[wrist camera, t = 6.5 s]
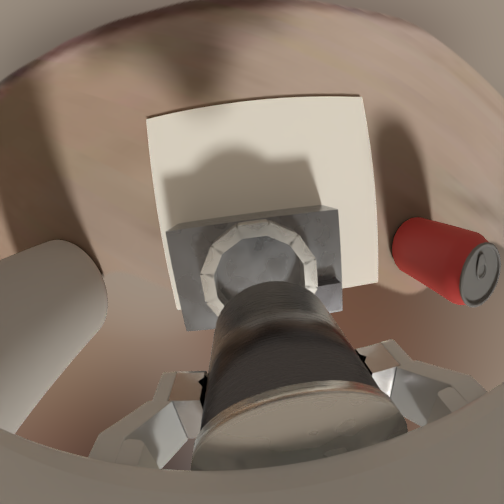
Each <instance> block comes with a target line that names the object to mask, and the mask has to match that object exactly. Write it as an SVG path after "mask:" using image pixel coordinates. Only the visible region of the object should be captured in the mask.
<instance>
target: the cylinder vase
mask: <svg viewBox="0 0 504 504" xmlns="http://www.w3.org/2000/svg"><path fill="white" fill-rule="evenodd" d="M107 308H108V298H107V291H106V287H105V283H104V281H103V278H102V275H101V273H100V271H99V269H98V268H97V266H96V265H95V263H94V262H93V260H92V259H91V258H90V257H89V256H88V255H87V254H86V253H85V252H84V251H83V250H82V249H81V248H79V247H78V246H76V245H75V244H73V243H70V242H68V241H64V240H51V241H48V242H45V243H42V244H40V245H37V246H34V247H32V248H29V249H27V250H24V251H21V252H19V253H16V254H14V255H11V256H9V257H7V258H4V259H2V260H0V428H1V429H3V430H6V431H8V432H10V433H13V434H15V432H16V431H17V430H18V428H19V427H20V426H21V424H22V423H23V422H24V420H25V419H26V418H27V416H28V415H29V414H30V412H31V411H32V410H33V408H34V407H35V406H36V404H37V403H38V402H39V401H40V399H41V398H42V397H43V396H44V394H45V393H46V392H47V391H48V389H49V388H50V387H51V386H52V384H53V383H54V382H55V380H56V379H57V378H58V377H59V376H60V374H61V373H62V372H63V371H64V370H65V369H66V367H67V366H68V365H69V363H71V361H72V360H73V359H74V358H75V357H76V355H77V354H78V353H79V352H80V351H81V350H82V349H83V347H84V346H85V345H86V344H87V343H88V342H89V341H90V339H91V338H92V337H93V336H94V335H95V334H96V333H97V332H98V330H99V329H100V328H101V327H102V325H103V323H104V321H105V318H106V315H107Z"/></svg>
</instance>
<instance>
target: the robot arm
mask: <svg viewBox="0 0 504 504" xmlns="http://www.w3.org/2000/svg"><path fill="white" fill-rule="evenodd" d="M354 350H355V351H356V353H357V354H358V356H359V357H360V359H361V361H362V362H363V364H364V365H365V367H366V368H367V370H368V371H369V373H370V374H371V376H372V377H373V379H374V380H375V382H376V383H377V385H378V386H379V388H380V390H381V391H383V392H384V393H385V394H387V395H388V396H389V397H390V398H391V399H392V401H393V402H394V403H395V405H396V406H397V408H398V409H399V411H400V412H401V414H402V416H404V417H405V418H407V419H409V420H411V421H413V422H414V423H416V424H418V425H420V426H422V427H420V428H418V429H415V430H413V431H410V432H408V433H405V434H403V435H400V436H397V437H394V438H392V439H389V440H386V441H383V442H380V443H377V444H374V445H371V446H368V447H364V448H361V449H358V450H354V451H350V452H347V453H343V454H339V455H335V456H330V457H326V458H322V459H317V460H312V461H307V462H301V463H295V464H289V465H282V466H274V467H266V468H256V469H244V470H225V471H186V470H184V471H183V470H167V469H161V468H162V467H163V466H164V465H165V464H166V463H167V462H168V461H169V460H170V459H171V458H172V457H173V455H174V454H175V453H176V452H177V451H178V450H179V449H180V448H181V447H182V446H183V444H184V443H185V442H186V441H187V440H188V439H187V438H197V435H198V434H199V432H200V428H201V421H202V413H203V406H204V399H205V392H206V385H207V378H208V374H207V372H206V371H194V372H193V371H191V372H164V373H163V374H162V376H161V379H160V381H159V384H158V387H157V389H156V392H155V394H154V397H153V400H152V401H148V402H146V403H145V404H143V405H142V406H140V407H139V408H137V409H136V410H135V411H133V412H132V413H130V414H129V415H127V416H126V417H124V418H123V419H121V420H120V421H118V422H117V423H115V424H114V425H112V426H111V427H109V428H108V429H106V430H105V431H103V432H101V433H100V434H99V436H98V438H97V440H96V442H95V444H94V446H93V448H92V450H91V453H90V455H89V457H88V458H87V457H83V456H78V455H75V454H71V453H67V452H64V451H60V450H57V449H54V448H50V447H47V446H44V445H41V444H39V443H36V442H33V441H30V440H28V439H25V438H22V437H20V436H17V435H15V434H13V433H10V432H8V431H6V430H3V429H1V428H0V504H504V382H503V383H501V384H500V385H498V386H497V387H495V388H494V389H492V390H491V391H489V392H487V391H486V390H485V389H484V388H483V387H482V386H481V385H480V384H479V383H478V382H477V381H476V380H475V379H474V378H473V377H471V376H470V375H467V374H463V373H460V372H456V371H452V370H449V369H445V368H442V367H438V366H434V365H431V364H428V363H424V362H421V361H418V360H416V361H413V360H412V359H411V358H410V357H409V356H408V355H407V354H406V353H405V352H404V351H403V349H402V348H401V347H400V346H399V345H398V344H397V343H396V342H395V341H394V340H392V339H390V340H387V341H384V342H380V343H378V344H375V345H371V346H366V347H362V348H359V349H354Z"/></svg>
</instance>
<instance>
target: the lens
mask: <svg viewBox="0 0 504 504" xmlns="http://www.w3.org/2000/svg"><path fill="white" fill-rule="evenodd" d="M407 432H408V431H407V424H406V421H405V419H404V417H403V416H402V414H401V412H400V411H399V409H398V408H397V406H396V405H395V403H394V402H393V401H392V399H391V398H390V397H389V396H388V395H387V394H385V393H384V392H383V391H381V390H380V388H379V386H378V385H377V383H376V382H375V380H374V379H373V377H372V376H371V374H370V373H369V371H368V370H367V368H366V367H365V365H364V364H363V362H362V361H361V359H360V357H359V356H358V354H357V353H356V351H355V350H354V348H353V347H352V346H351V344H350V343H349V341H348V340H347V338H346V337H345V335H344V334H343V332H342V331H341V329H340V328H339V326H338V325H337V323H336V322H335V320H334V319H333V317H332V316H331V315H330V313H329V312H328V310H327V309H326V307H325V306H324V304H323V303H322V302H321V300H320V299H319V298H318V297H317V296H316V295H315V294H314V293H313V292H311V291H310V290H308V289H306V288H304V287H302V286H300V285H297V284H294V283H290V282H285V281H269V282H263V283H259V284H255V285H252V286H250V287H248V288H246V289H244V290H242V291H241V292H239V293H237V294H236V295H235V296H234V297H232V298H231V299H230V300H229V301H228V302H227V304H226V305H225V306H224V308H223V309H222V311H221V312H220V314H219V316H218V319H217V322H216V327H215V334H214V340H213V346H212V352H211V359H210V365H209V373H208V378H207V385H206V392H205V399H204V406H203V413H202V421H201V428H200V432H199V434H198V435H197V438H196V440H195V443H194V450H193V456H192V463H191V471H225V470H244V469H256V468H266V467H274V466H282V465H289V464H295V463H301V462H307V461H312V460H317V459H322V458H326V457H330V456H335V455H339V454H343V453H347V452H350V451H354V450H358V449H361V448H364V447H368V446H371V445H374V444H377V443H380V442H383V441H386V440H389V439H392V438H394V437H397V436H400V435H403V434H405V433H407Z"/></svg>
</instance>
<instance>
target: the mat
mask: <svg viewBox="0 0 504 504" xmlns="http://www.w3.org/2000/svg"><path fill="white" fill-rule="evenodd" d="M146 122H147V133H148V143H149V153H150V162H151V170H152V178H153V185H154V192H155V199H156V206H157V212H158V218H159V224H160V230H161V235H162V241H163V246H164V251H165V257H166V262H167V267H168V271H169V276H170V281H171V285H172V290H173V294H174V298H175V303H176V307H177V310H181V306H180V301H179V297H178V292H177V288H176V283H175V279H174V274H173V269H172V264H171V259H170V254H169V249H168V243H167V238H166V231H167V230H169V229H171V228H172V227H174V226H176V225H177V224H179V223H185V222H191V221H198V220H204V219H211V218H218V217H226V216H233V215H240V214H248V213H256V212H263V211H272V210H280V209H288V208H297V207H306V206H316V205H324V206H328V207H331V208H335V209H338V215H339V229H340V245H341V267H342V288H348V287H353V286H359V285H364V284H370V283H375V282H378V231H377V210H376V196H375V184H374V174H373V164H372V156H371V148H370V141H369V134H368V128H367V122H366V116H365V110H364V105H363V100H362V97H340V96H319V97H290V98H274V99H262V100H252V101H243V102H235V103H228V104H221V105H214V106H208V107H202V108H196V109H191V110H186V111H181V112H176V113H171V114H167V115H162V116H158V117H154V118H150V119H146Z"/></svg>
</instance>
